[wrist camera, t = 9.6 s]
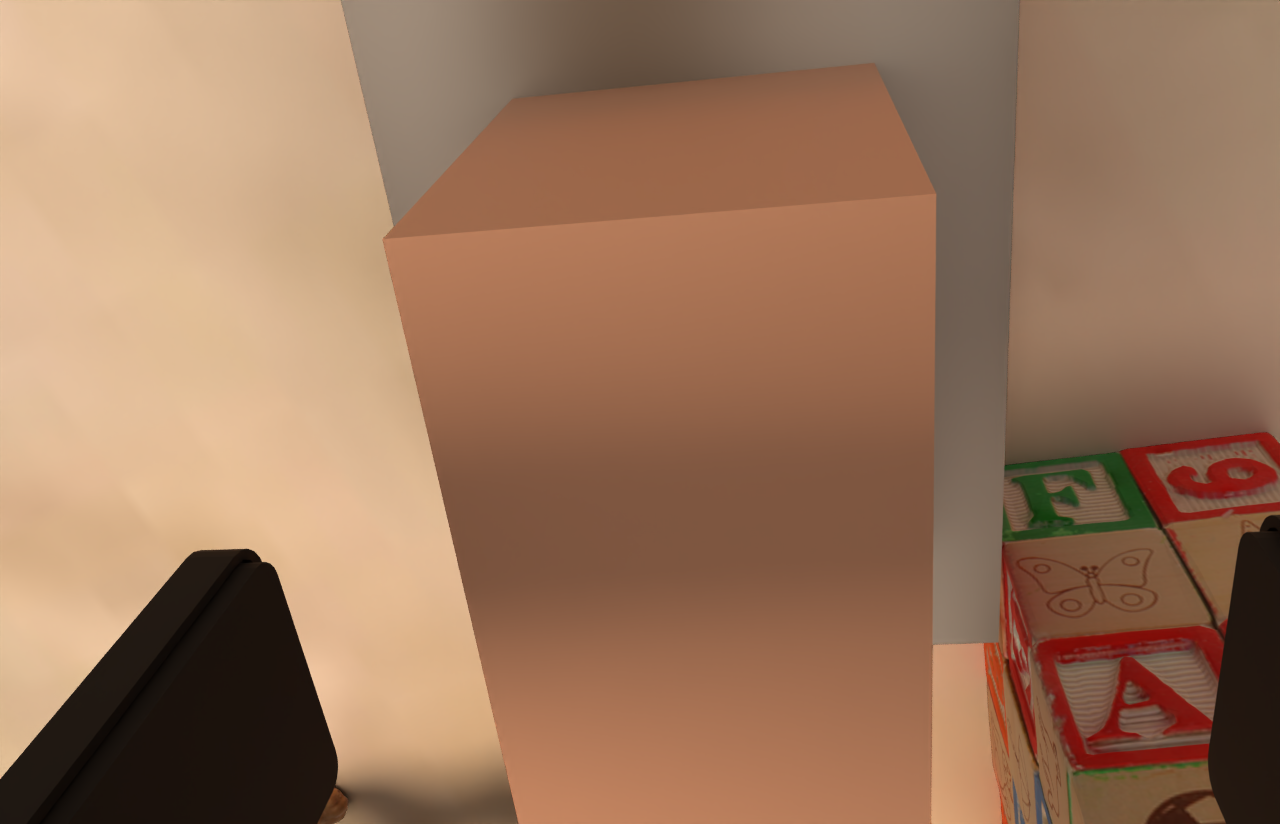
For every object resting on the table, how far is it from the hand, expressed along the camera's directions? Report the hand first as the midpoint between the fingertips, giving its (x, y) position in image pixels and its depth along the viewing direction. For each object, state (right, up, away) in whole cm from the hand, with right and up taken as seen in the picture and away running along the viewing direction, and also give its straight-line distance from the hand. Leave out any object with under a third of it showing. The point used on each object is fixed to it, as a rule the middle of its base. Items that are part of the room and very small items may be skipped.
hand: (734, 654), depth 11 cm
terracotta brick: (0, +3, +6) cm, 7 cm away
